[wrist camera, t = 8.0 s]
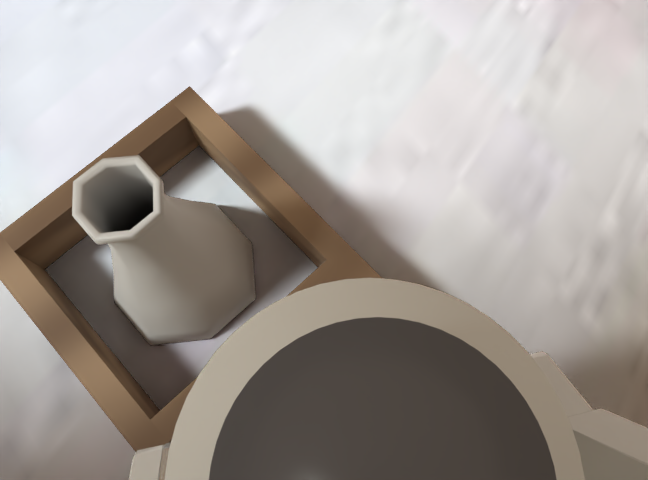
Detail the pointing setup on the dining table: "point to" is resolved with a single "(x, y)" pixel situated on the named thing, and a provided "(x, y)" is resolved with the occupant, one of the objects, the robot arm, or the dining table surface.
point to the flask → (165, 252)
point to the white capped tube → (372, 395)
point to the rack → (64, 232)
